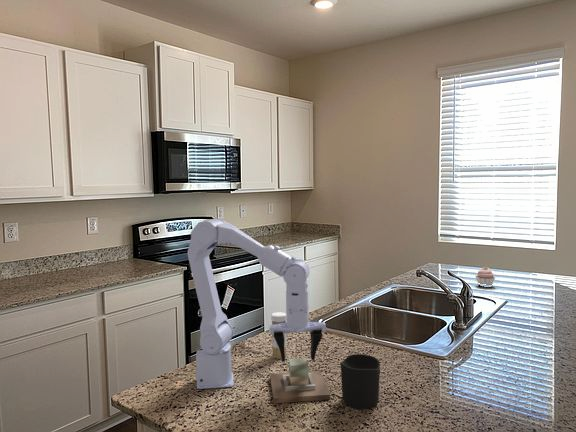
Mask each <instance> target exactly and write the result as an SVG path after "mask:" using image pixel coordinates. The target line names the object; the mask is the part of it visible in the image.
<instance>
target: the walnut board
mask: <svg viewBox="0 0 576 432" xmlns="http://www.w3.org/2000/svg"><path fill="white" fill-rule="evenodd" d="M269 381H270V388H271V392H272V399H273V404H284V403H285V404H286V403H295V402H299V403H300V402H311V401H312V402H313V401H326V400H331V392H330V390H329V388H328V386H327V383H326V381H325V379H324V377H323V374H322V371H321V370H316V371H315V370H313V371H308V382H309V385H297V386H290V382H289V372H283V373H282V372H281V373H270V374H269Z"/></svg>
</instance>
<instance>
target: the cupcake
mask: <svg viewBox="0 0 576 432" xmlns="http://www.w3.org/2000/svg"><path fill="white" fill-rule="evenodd" d="M475 279H476V282H478V283H480V284H486V285H492V284H494V281H495V280H496V276H494V273H493V272H492V270H491V269H490V268H489V267H487V266H484V267H482V268H481V269H480V270H478V271H477V274H476V275H475ZM478 283H477V284H478ZM492 286H493V285H492Z"/></svg>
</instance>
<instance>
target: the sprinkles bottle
mask: <svg viewBox="0 0 576 432" xmlns="http://www.w3.org/2000/svg"><path fill="white" fill-rule="evenodd" d="M281 323H286V312H283V311H282V312H281V311H276V312H272V313H271V325H275V324H281ZM283 334H284V353H285V358H286V357H287V355H288V354H287V333H283ZM271 347H272V355H271V356H272V358H274V359H277V360H279V359H281V352H280V349H279V347H278V344H277V342H276V340H275V338H274V334H272V335H271ZM281 360H282V359H281Z"/></svg>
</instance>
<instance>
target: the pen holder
mask: <svg viewBox="0 0 576 432" xmlns="http://www.w3.org/2000/svg"><path fill="white" fill-rule="evenodd" d="M380 371H381V362H380V360H379V359H378V358H377V357H375V356H372V355H368V354H363V353H361V354H360V353H355V354H349V355H348V356H347V357H345V358H344V359H343V360H342V361H341V362H340V377H341V394H342V396H341V397H342V401H343V403H344V404H345V406H347V407H349V408H350V409H351V408H352V409H355V410H370V409H372V408H375V407H376V406H377V405H378V403H379V400H380V399H379V397H380V395H379V394H380V374H381V372H380Z"/></svg>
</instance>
